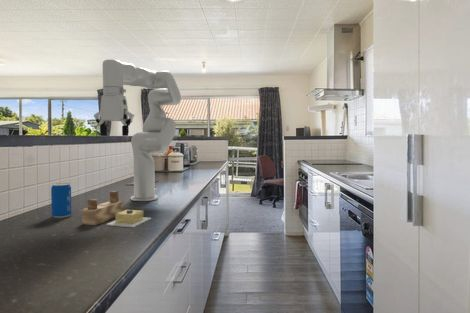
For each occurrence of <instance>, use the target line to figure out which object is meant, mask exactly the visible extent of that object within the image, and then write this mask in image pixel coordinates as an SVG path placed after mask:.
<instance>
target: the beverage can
mask: <svg viewBox="0 0 470 313" xmlns="http://www.w3.org/2000/svg"><path fill="white" fill-rule="evenodd" d="M50 196H51V201H50V202H51V217H53V218H54V219H65V218H69V217H70V216H71V215H72V212H73V211H72V186H71V184H70V183H69V182H68V183H67V182H59V183H53V184H52V186H51V187H50Z"/></svg>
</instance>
